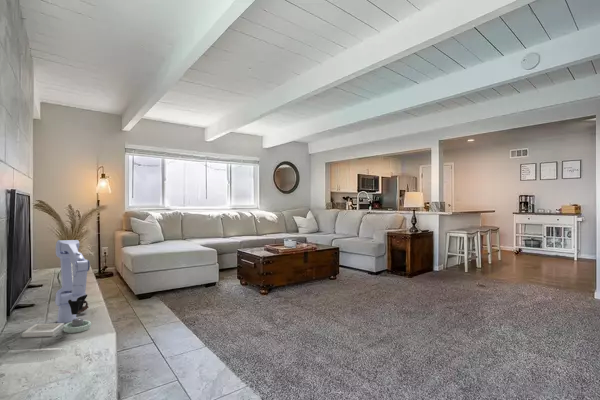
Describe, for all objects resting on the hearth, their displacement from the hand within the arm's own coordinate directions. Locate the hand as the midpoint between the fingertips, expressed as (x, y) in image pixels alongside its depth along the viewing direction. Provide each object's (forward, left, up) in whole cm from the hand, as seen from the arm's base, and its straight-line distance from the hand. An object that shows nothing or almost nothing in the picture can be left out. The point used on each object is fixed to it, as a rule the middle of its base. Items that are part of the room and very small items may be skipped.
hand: (76, 311), depth 160 cm
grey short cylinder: (0, +1, -8) cm, 8 cm away
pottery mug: (-30, -10, -9) cm, 33 cm away
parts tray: (+3, -12, -9) cm, 15 cm away
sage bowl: (0, +1, -9) cm, 9 cm away
